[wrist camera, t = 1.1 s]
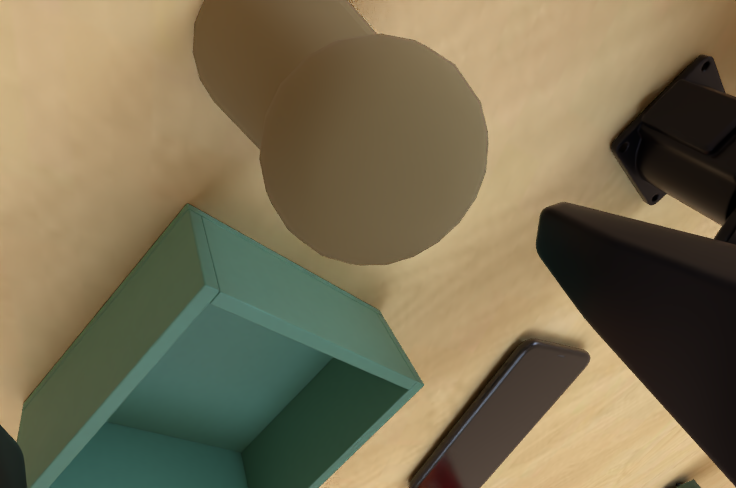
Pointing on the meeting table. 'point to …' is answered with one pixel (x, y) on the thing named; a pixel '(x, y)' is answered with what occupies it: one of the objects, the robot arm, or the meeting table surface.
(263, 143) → the brown pawn
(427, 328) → the meeting table surface
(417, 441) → the meeting table surface
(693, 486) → the character mug
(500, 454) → the smartphone
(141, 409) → the tote
